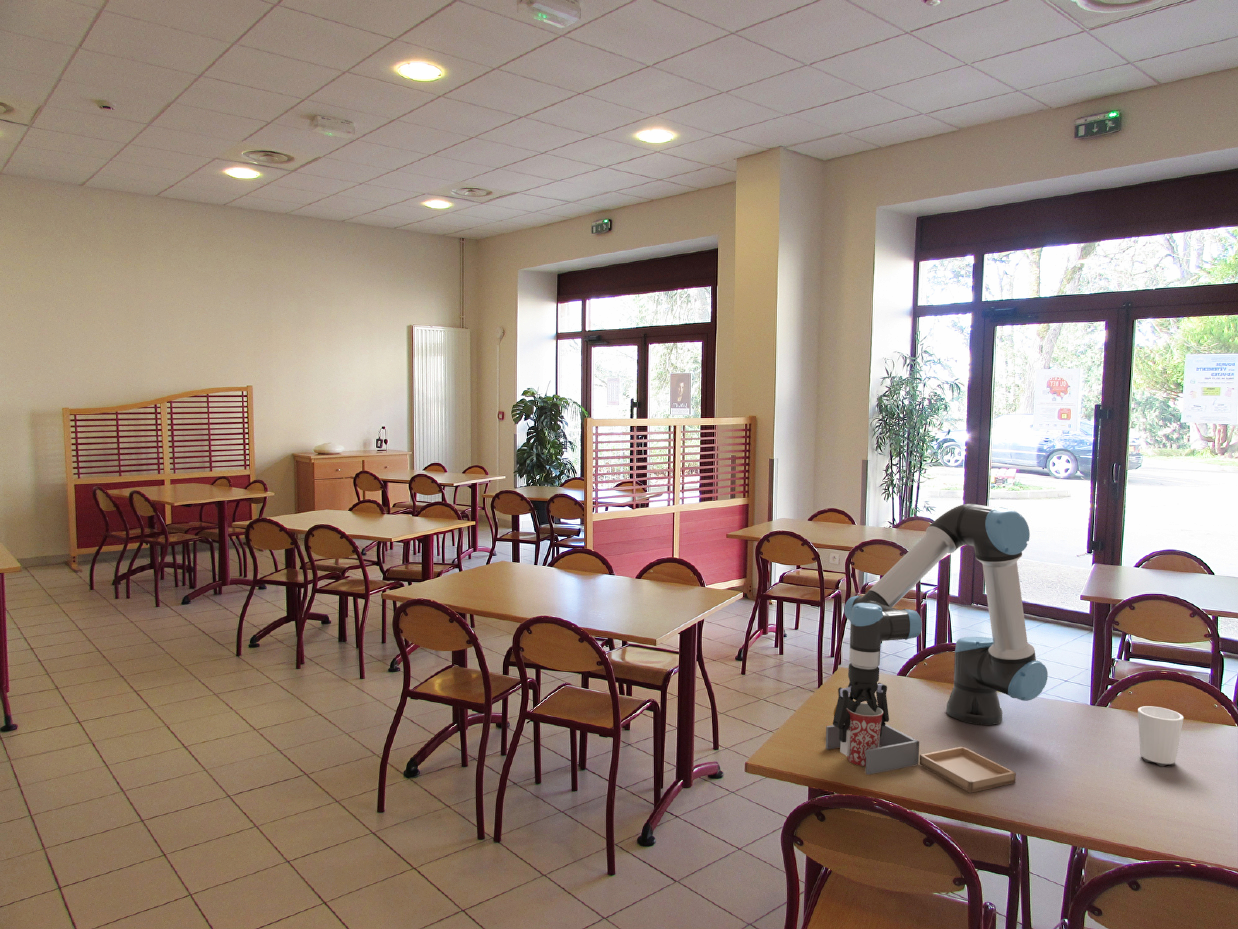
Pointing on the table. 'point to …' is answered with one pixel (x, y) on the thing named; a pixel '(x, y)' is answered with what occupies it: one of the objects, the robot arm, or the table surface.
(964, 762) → the tray
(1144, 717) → the cup
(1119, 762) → the table surface
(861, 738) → the mug
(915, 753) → the bay
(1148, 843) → the table surface
